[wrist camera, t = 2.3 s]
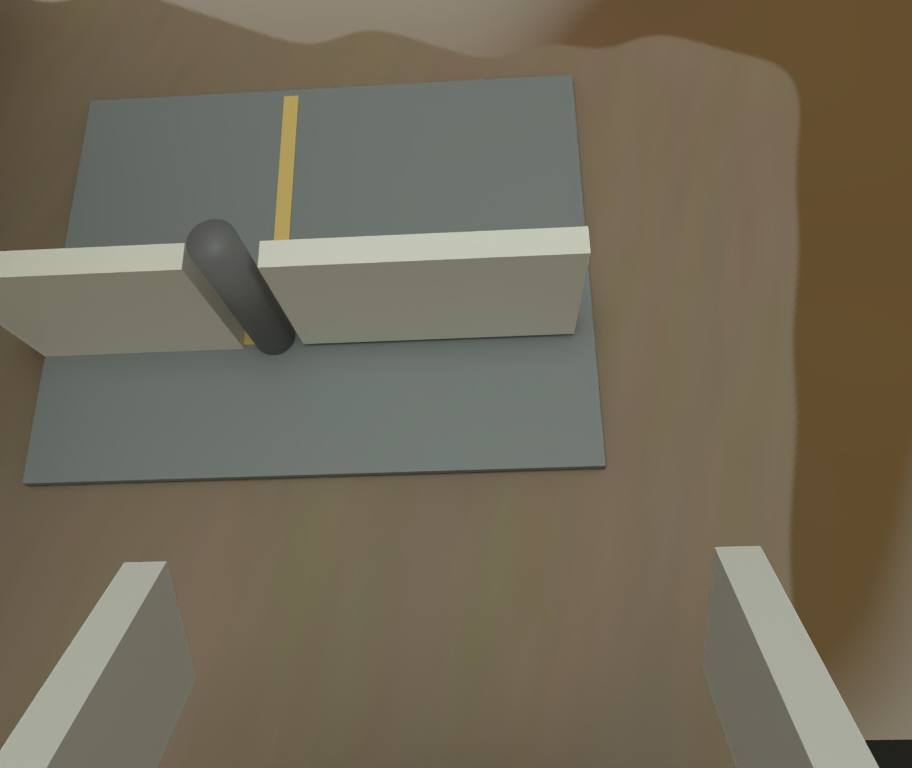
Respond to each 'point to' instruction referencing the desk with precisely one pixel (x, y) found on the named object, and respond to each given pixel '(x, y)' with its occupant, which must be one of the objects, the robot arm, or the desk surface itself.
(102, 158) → the card
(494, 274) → the hinged panel
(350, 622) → the desk surface
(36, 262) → the fence
